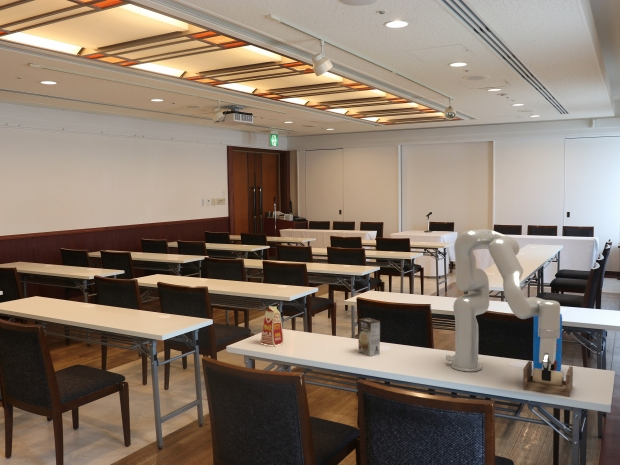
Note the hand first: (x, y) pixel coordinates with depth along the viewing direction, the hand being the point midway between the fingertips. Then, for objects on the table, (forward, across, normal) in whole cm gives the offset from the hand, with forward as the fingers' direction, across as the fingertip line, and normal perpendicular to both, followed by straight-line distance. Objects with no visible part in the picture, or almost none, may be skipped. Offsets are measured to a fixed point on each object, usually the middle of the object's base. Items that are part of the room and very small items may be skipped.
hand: (547, 377), depth 211 cm
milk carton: (+5, -3, -130) cm, 130 cm away
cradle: (+4, 0, 0) cm, 4 cm away
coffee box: (+5, -11, -80) cm, 81 cm away
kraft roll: (+3, 0, 0) cm, 3 cm away
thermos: (+5, -20, -3) cm, 21 cm away
